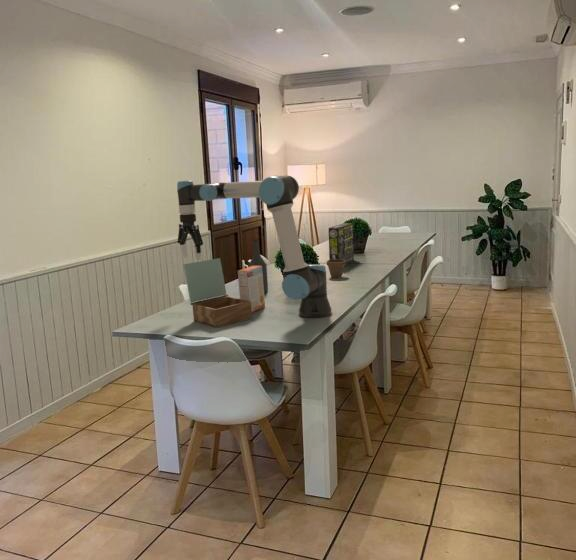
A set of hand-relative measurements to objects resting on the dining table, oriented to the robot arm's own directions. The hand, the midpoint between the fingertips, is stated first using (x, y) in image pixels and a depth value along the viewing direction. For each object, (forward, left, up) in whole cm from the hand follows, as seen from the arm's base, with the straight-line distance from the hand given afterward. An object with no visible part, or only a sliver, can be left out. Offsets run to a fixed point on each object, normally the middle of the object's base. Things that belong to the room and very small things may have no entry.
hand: (191, 258), depth 281 cm
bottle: (+10, -48, -27) cm, 56 cm away
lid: (-12, 0, -9) cm, 15 cm away
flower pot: (+4, -104, -27) cm, 107 cm away
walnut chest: (-23, 0, -26) cm, 35 cm away
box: (+33, -140, -27) cm, 146 cm away
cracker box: (-20, -20, -27) cm, 39 cm away
